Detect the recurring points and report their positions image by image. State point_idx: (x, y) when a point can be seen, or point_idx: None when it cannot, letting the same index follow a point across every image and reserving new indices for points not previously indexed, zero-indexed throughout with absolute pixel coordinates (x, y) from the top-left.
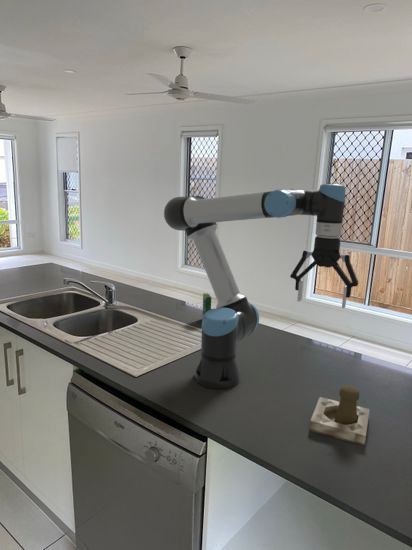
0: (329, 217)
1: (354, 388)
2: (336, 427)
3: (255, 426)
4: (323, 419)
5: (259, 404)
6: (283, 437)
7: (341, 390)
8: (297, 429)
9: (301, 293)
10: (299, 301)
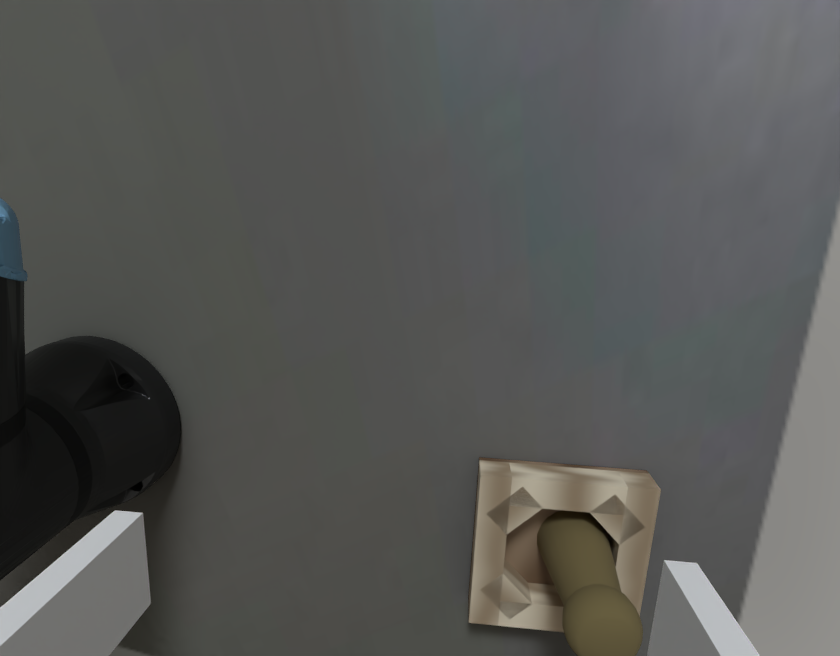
0: None
1: (626, 642)
2: (548, 629)
3: (322, 628)
4: (506, 603)
5: (295, 521)
6: (406, 647)
7: (572, 647)
8: (434, 602)
9: (81, 612)
10: (148, 602)
